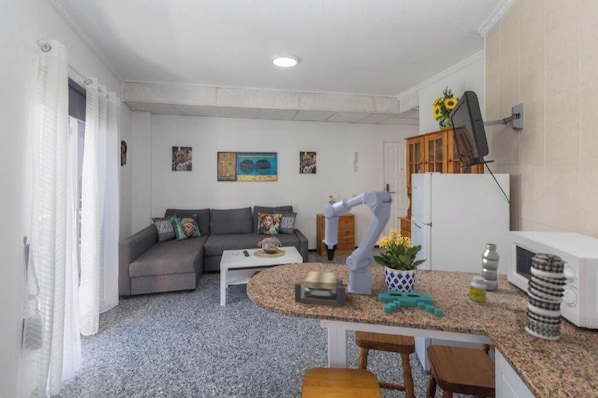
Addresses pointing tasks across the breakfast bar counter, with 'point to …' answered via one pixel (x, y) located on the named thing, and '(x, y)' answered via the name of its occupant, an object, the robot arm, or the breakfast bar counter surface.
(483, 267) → the plastic bottle
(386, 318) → the breakfast bar counter surface
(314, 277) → the slab
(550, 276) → the decorative candle
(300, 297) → the roller bed
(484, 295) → the supplement bottle
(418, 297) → the alien figure
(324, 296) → the loose roller
